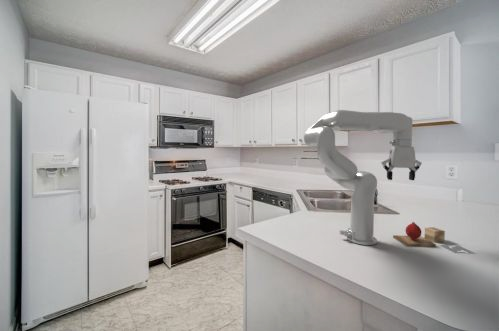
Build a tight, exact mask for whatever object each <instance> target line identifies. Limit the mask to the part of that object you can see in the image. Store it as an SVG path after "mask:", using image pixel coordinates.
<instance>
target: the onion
mask: <svg viewBox="0 0 499 331" xmlns="http://www.w3.org/2000/svg"><path fill="white" fill-rule="evenodd" d="M405 234H406V236H409V237H410V238H411V239H412V240H415V239H417V238H419V237H420V236H421V237H422V229H421V227H420V226H419V225H418V224H417V223H416V222H414V221H412V222H411V223H410V224H408V225H407V226H405Z"/></svg>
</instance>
